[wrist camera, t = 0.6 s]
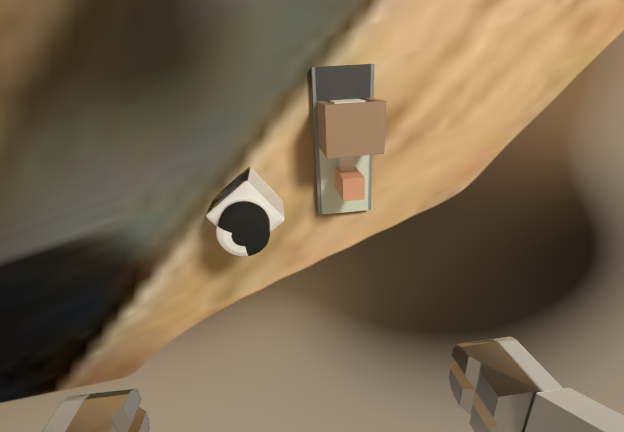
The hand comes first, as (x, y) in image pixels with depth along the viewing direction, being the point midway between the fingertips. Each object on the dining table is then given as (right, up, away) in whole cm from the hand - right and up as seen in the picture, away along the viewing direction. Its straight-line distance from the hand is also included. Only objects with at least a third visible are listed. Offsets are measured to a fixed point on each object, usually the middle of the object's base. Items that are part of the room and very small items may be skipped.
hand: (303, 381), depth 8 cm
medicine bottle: (-9, +7, +39) cm, 40 cm away
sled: (+5, +14, +36) cm, 39 cm away
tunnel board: (+5, +14, +37) cm, 40 cm away
